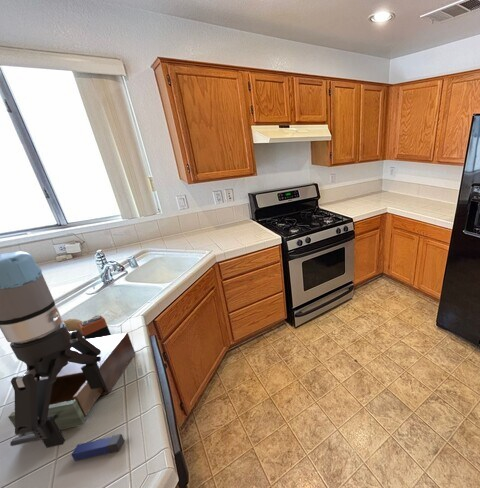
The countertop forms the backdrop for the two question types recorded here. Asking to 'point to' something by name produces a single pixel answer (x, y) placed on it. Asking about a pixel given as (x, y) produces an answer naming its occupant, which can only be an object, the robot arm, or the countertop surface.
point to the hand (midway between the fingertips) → (79, 412)
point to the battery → (94, 328)
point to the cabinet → (105, 359)
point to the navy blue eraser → (98, 447)
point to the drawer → (65, 405)
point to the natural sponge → (73, 325)
